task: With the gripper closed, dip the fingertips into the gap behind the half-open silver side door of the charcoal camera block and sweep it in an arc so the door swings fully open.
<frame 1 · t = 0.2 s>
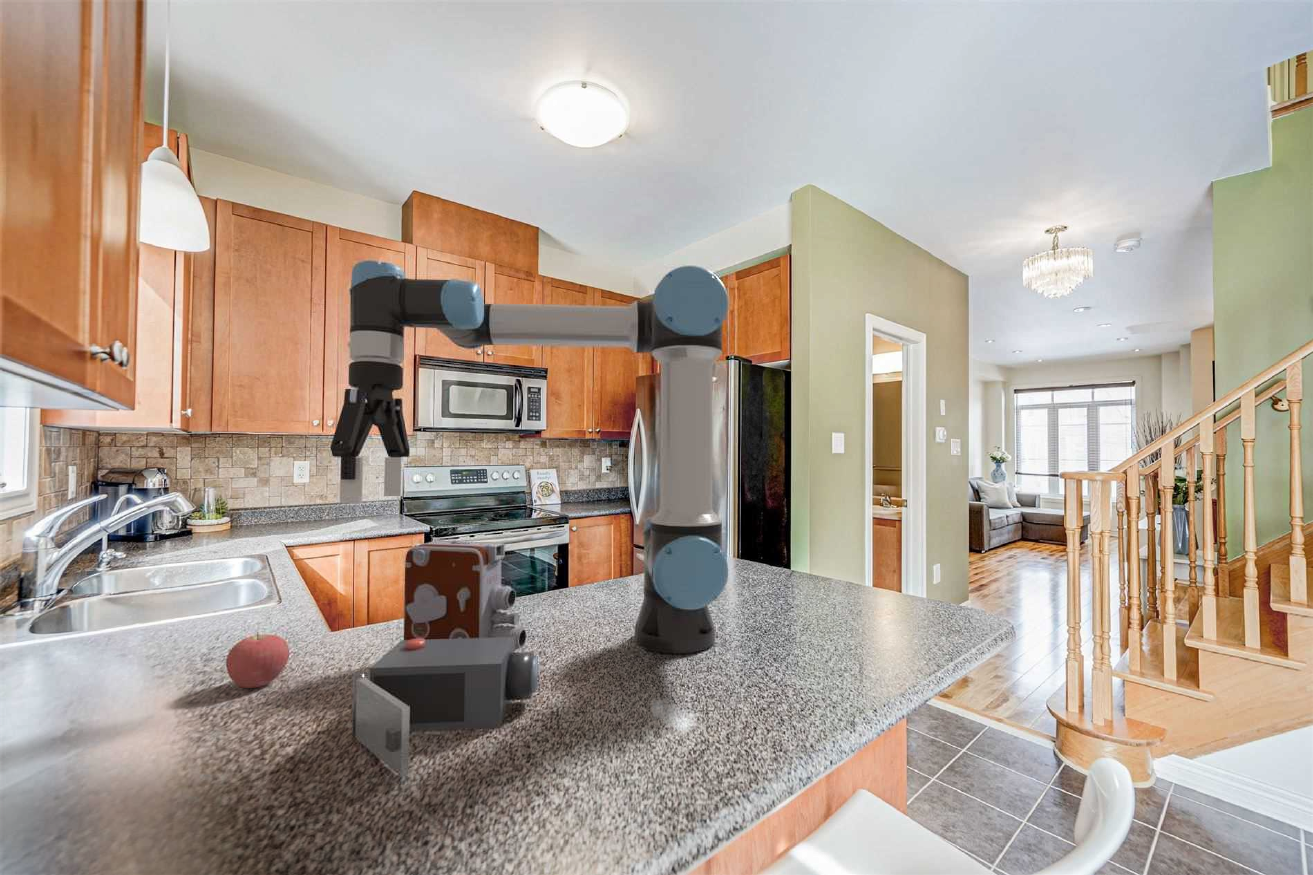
hand: (373, 499, 82), 28 cm above the countertop, fingers open, 13 cm apart
camera block: (447, 711, 71), on the countertop
cine camera: (466, 664, 88), on the countertop
apple: (257, 686, 79), on the countertop
side door: (377, 721, 60), point 4 cm above the countertop, hinge at 45.0°
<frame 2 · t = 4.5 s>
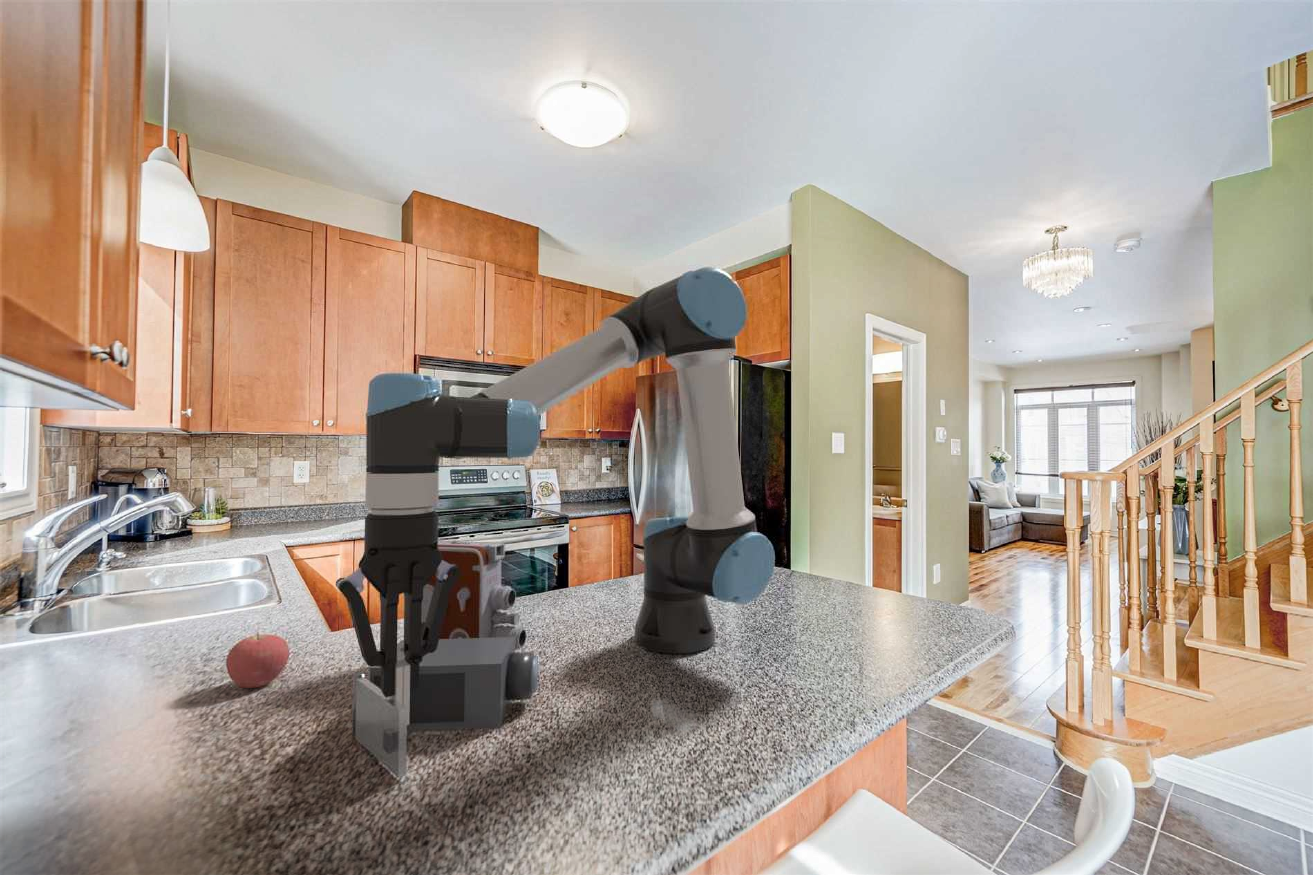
hand: (399, 721, 59), 5 cm above the countertop, fingers closed
side door: (375, 721, 60), point 4 cm above the countertop, hinge at 46.3°, touching gripper
everything else where it was.
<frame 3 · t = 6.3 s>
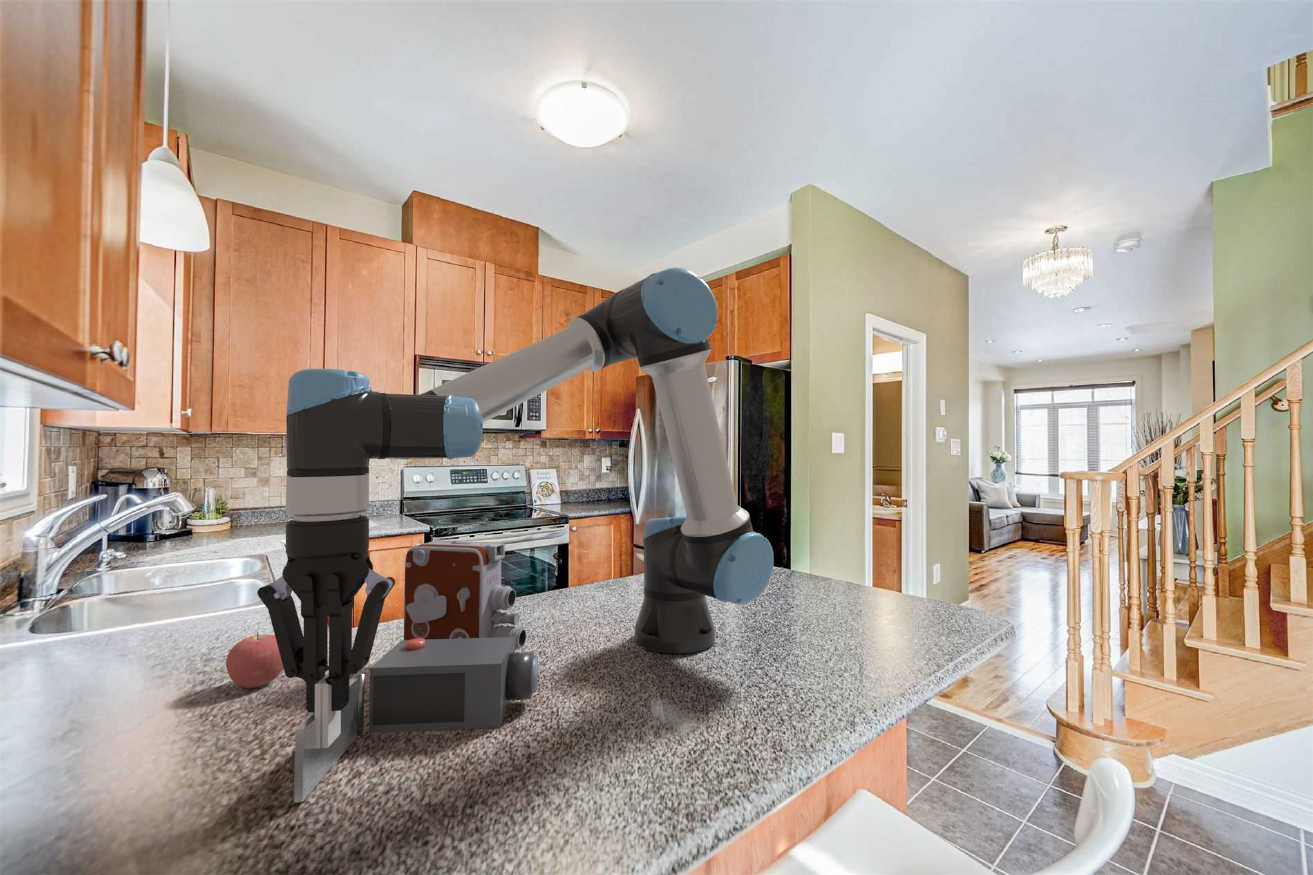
hand: (327, 740, 55), 4 cm above the countertop, fingers closed
side door: (331, 729, 58), point 4 cm above the countertop, hinge at 88.3°, touching gripper
everything else where it was.
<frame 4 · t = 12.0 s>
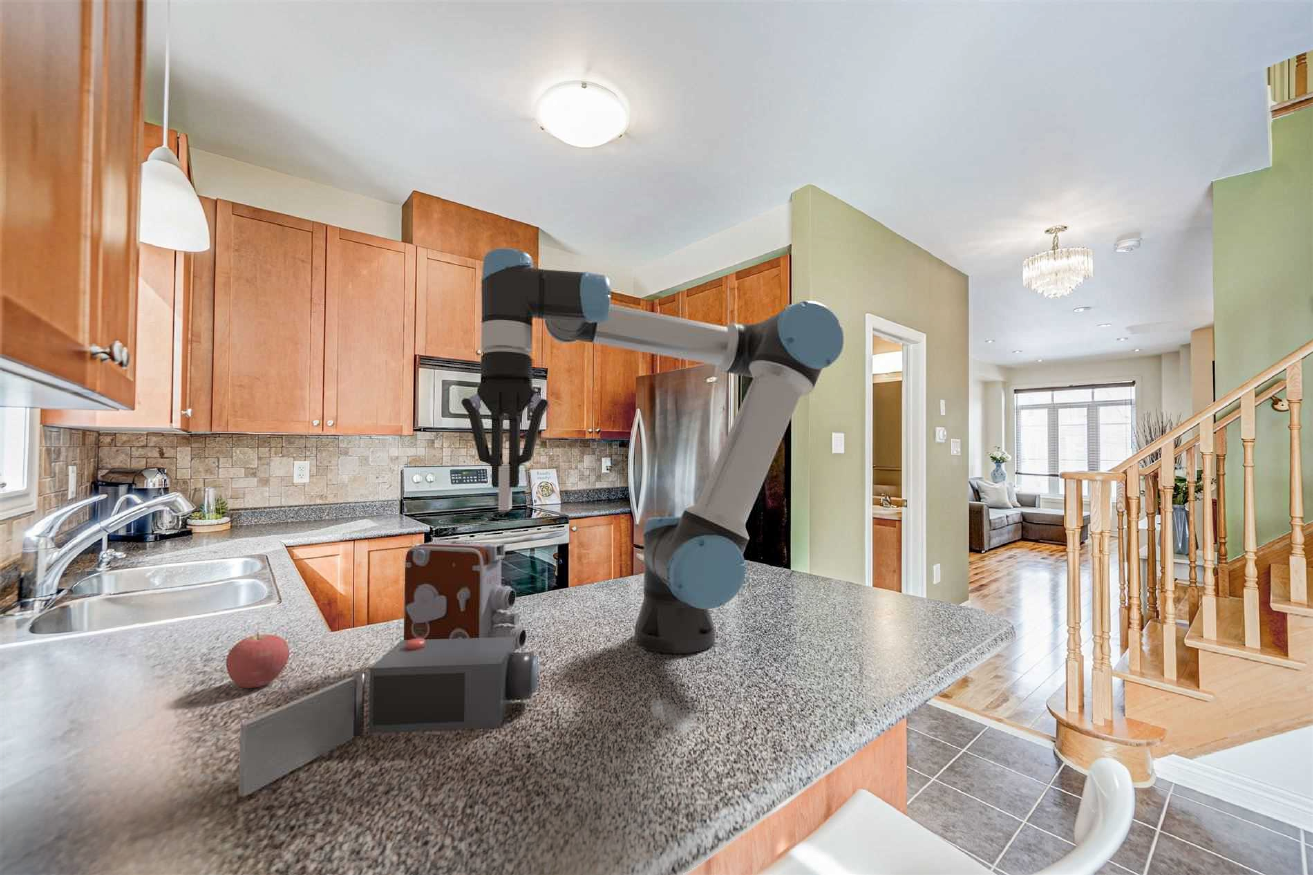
hand: (505, 509, 80), 26 cm above the countertop, fingers closed
side door: (307, 727, 59), point 4 cm above the countertop, hinge at 117.1°
everything else where it was.
at the end: side door at +117° (first picture: +45°); side door touching nothing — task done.
